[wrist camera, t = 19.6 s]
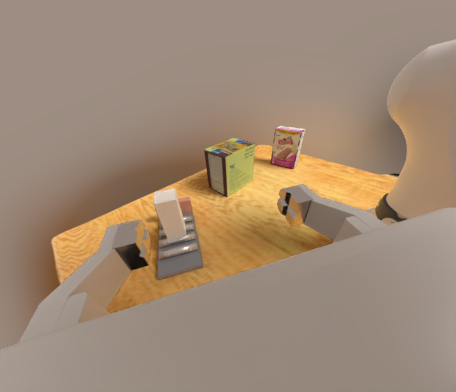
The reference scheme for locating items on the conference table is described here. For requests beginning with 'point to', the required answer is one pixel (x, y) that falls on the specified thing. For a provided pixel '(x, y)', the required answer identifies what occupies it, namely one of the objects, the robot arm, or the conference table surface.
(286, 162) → the candy bar box
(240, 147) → the protein box
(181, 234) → the wooden block
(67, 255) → the conference table surface
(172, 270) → the roller track
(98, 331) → the robot arm
